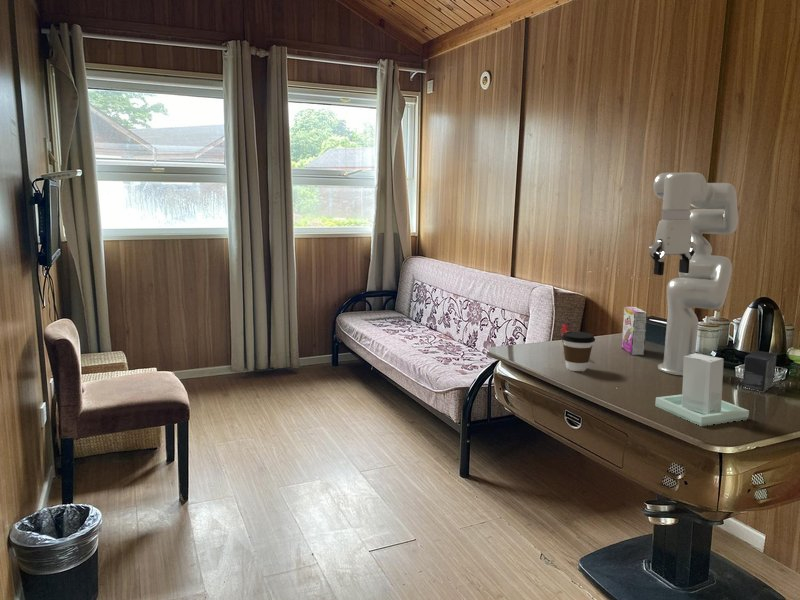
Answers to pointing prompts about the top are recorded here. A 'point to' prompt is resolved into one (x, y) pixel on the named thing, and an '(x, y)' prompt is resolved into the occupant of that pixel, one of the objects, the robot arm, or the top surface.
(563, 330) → the decorative bird figurine
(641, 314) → the candy bar box
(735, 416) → the tray
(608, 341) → the top surface
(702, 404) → the skincare box
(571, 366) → the coffee cup
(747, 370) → the small box
